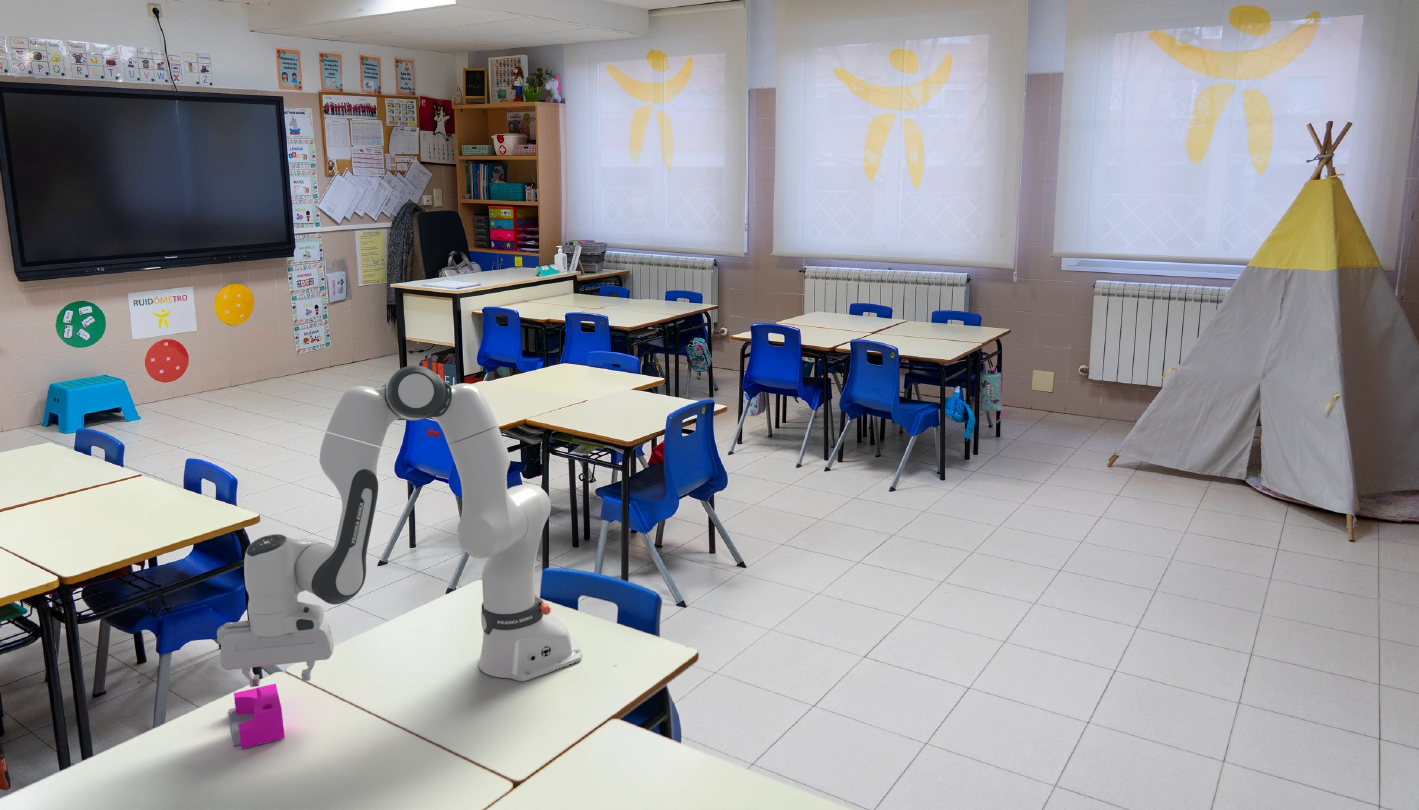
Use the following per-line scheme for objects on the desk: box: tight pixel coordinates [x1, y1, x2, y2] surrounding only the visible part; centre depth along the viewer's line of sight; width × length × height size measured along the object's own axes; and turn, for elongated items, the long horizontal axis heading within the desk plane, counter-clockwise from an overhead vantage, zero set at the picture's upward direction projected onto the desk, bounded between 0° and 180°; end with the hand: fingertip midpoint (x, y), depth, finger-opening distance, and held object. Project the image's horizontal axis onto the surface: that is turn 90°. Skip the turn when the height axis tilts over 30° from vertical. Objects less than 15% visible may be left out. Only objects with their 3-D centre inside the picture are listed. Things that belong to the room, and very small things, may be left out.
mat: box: [228, 707, 255, 748], centre depth 191 cm, size 8×14×1 cm, turn 28°
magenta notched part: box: [233, 683, 286, 750], centre depth 189 cm, size 15×6×8 cm
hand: (281, 682), depth 192 cm, fingers open, 8 cm apart
